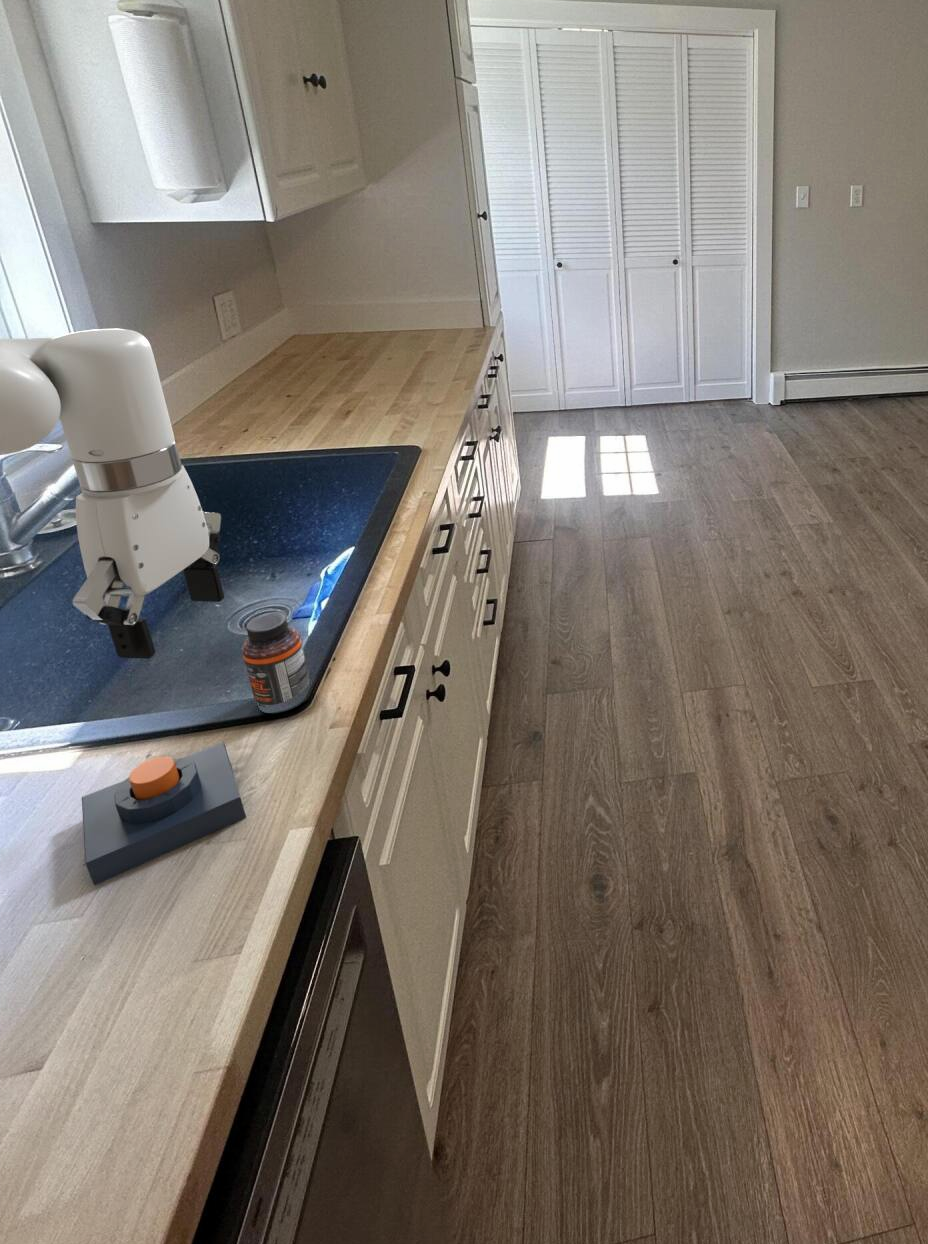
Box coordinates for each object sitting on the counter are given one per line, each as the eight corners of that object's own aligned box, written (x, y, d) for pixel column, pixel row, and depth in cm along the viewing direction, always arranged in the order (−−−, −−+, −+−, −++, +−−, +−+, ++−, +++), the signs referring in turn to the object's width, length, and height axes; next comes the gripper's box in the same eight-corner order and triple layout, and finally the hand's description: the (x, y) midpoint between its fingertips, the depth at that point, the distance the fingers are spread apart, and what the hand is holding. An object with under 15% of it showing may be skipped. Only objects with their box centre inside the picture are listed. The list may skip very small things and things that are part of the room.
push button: (136, 806, 75) (130, 789, 74) (133, 784, 77) (127, 767, 76) (181, 788, 77) (176, 771, 76) (177, 766, 79) (172, 750, 79)
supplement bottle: (244, 709, 93) (222, 628, 89) (289, 680, 98) (270, 602, 94) (281, 723, 91) (260, 640, 87) (324, 692, 96) (306, 612, 92)
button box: (93, 886, 71) (79, 848, 70) (89, 817, 78) (75, 782, 77) (246, 818, 78) (236, 782, 77) (229, 761, 86) (219, 727, 84)
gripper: (159, 433, 80) (198, 580, 86) (2, 505, 64) (63, 680, 70) (231, 435, 80) (265, 582, 86) (93, 507, 64) (146, 683, 70)
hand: (174, 626), depth 78 cm, fingers open, 9 cm apart
